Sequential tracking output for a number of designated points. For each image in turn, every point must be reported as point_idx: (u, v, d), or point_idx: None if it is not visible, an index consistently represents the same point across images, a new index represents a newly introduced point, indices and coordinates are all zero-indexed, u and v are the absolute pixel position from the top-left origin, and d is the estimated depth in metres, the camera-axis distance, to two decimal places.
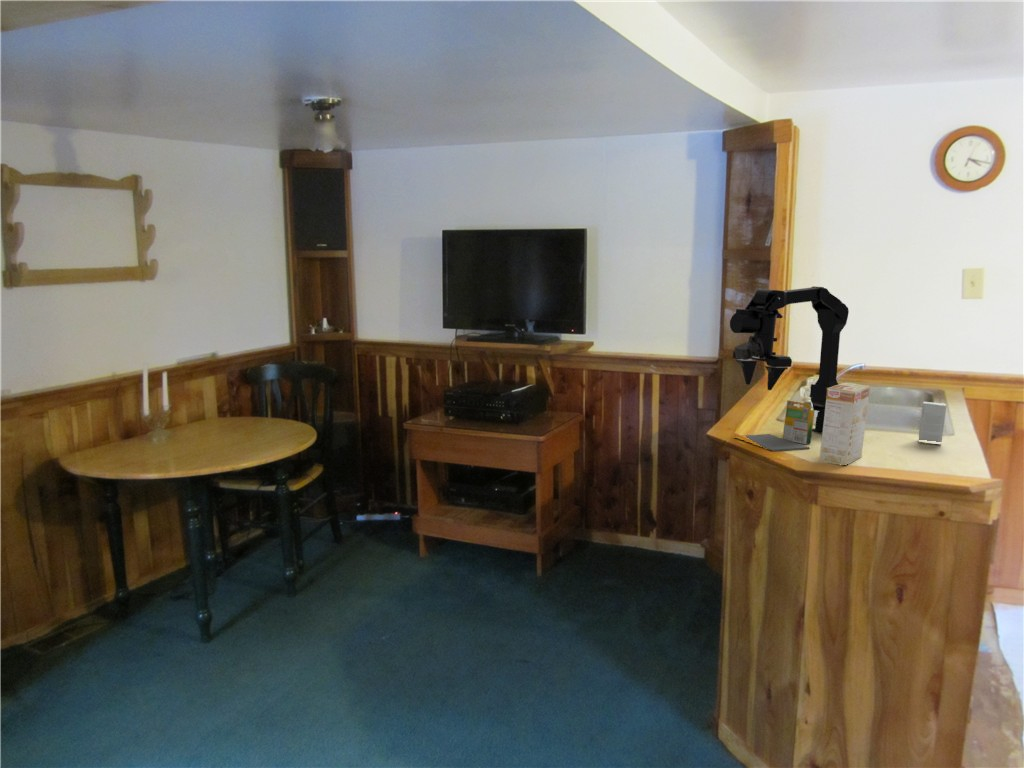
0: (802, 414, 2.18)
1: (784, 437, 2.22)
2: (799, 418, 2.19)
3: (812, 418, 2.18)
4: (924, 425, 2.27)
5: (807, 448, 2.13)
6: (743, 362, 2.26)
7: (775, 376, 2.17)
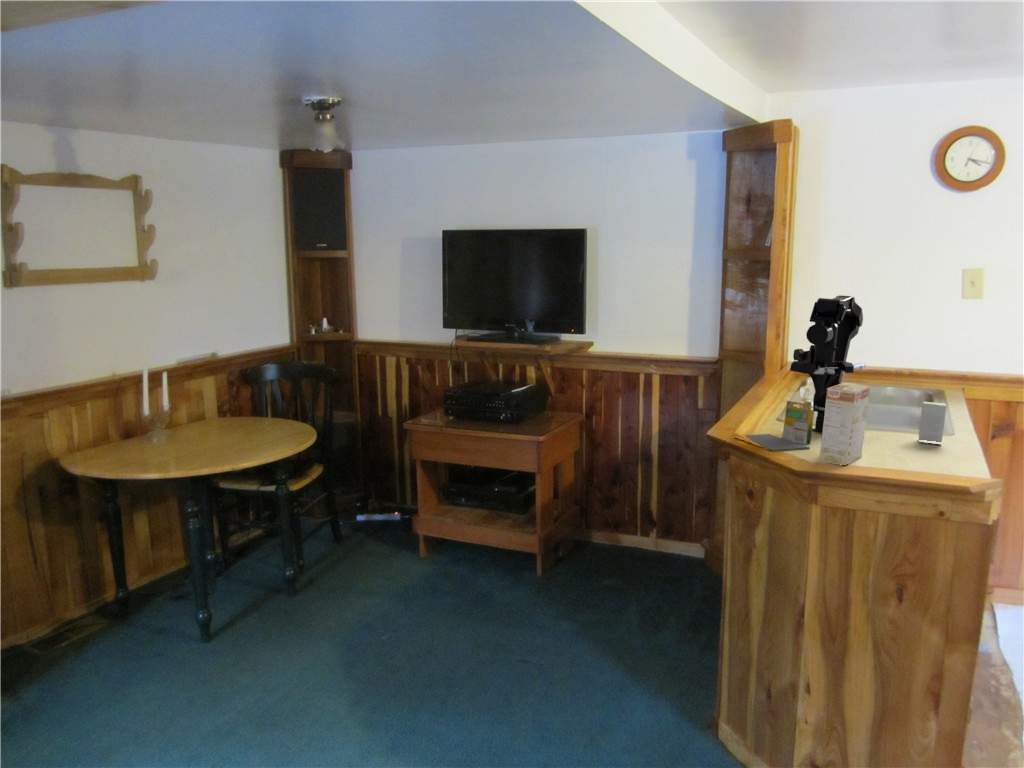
0: (802, 414, 2.18)
1: (784, 437, 2.22)
2: (799, 419, 2.19)
3: (812, 418, 2.18)
4: (924, 425, 2.27)
5: (807, 448, 2.13)
6: None
7: (818, 383, 2.20)
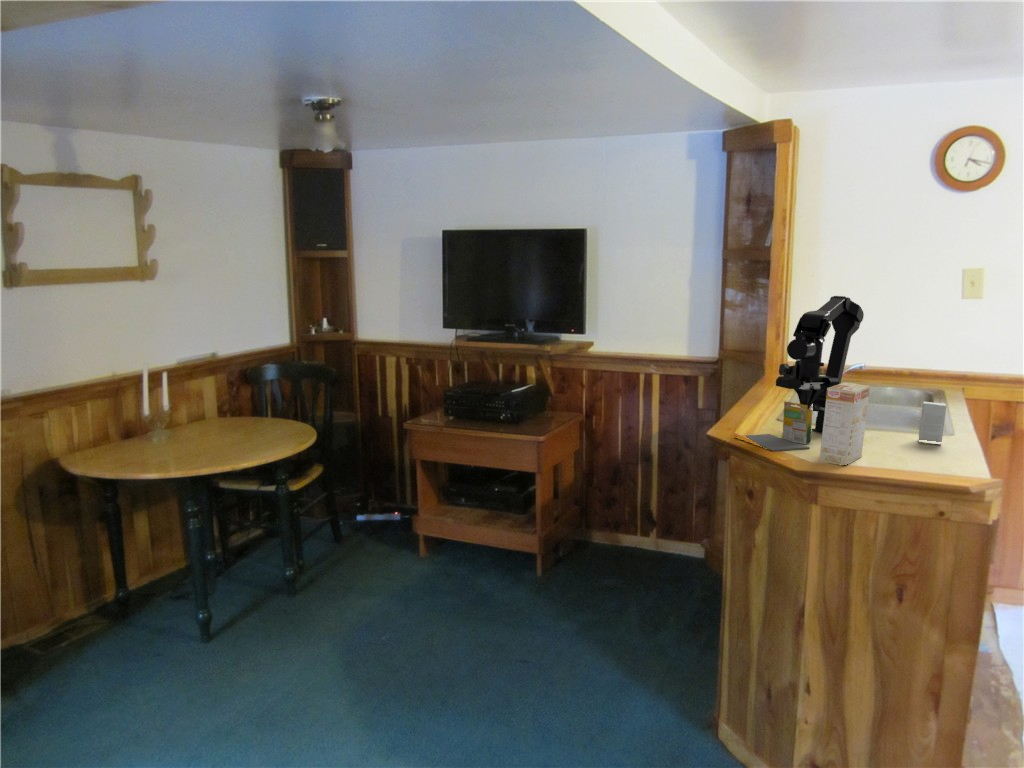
0: (800, 415, 2.17)
1: (784, 437, 2.22)
2: (798, 419, 2.18)
3: (810, 418, 2.17)
4: (924, 425, 2.27)
5: (807, 448, 2.13)
6: None
7: (803, 398, 2.19)
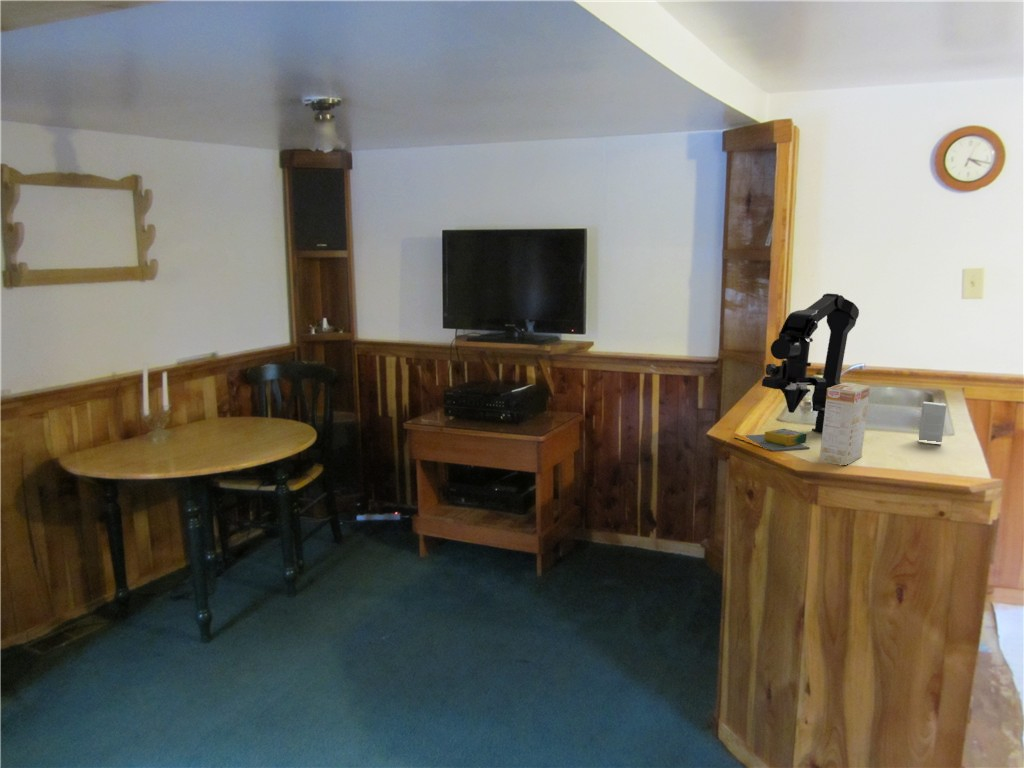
0: None
1: None
2: None
3: (792, 439, 2.13)
4: (924, 425, 2.27)
5: (807, 448, 2.13)
6: None
7: (790, 398, 2.17)
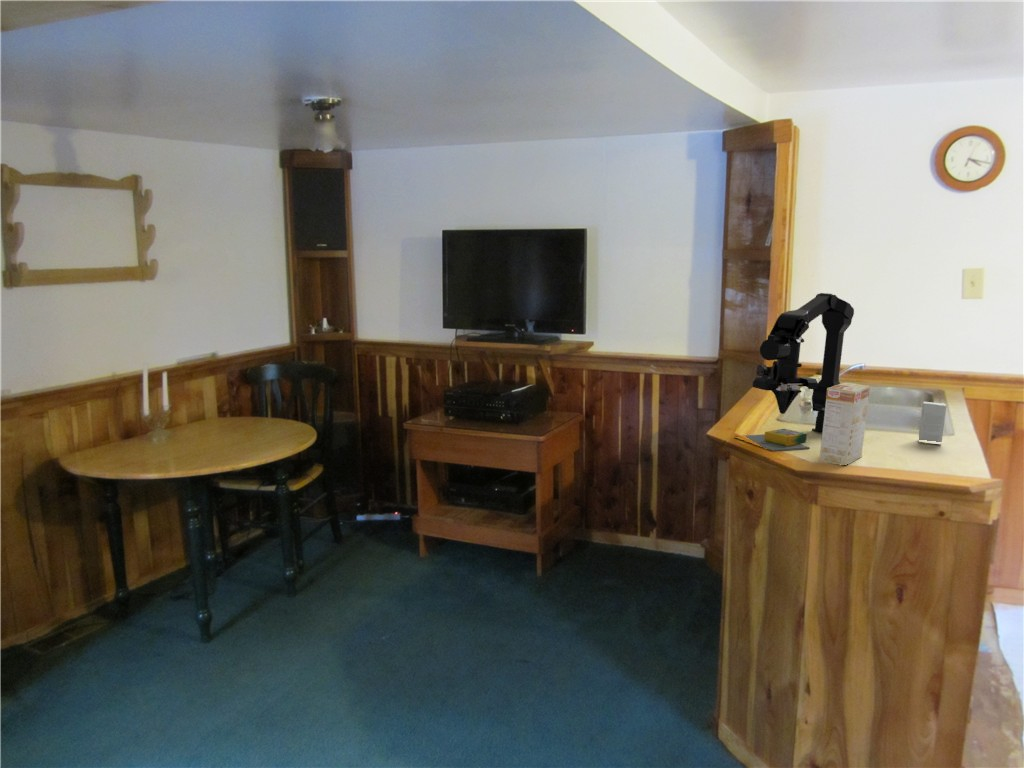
0: None
1: None
2: None
3: (792, 439, 2.13)
4: (924, 425, 2.27)
5: (807, 448, 2.13)
6: None
7: (781, 399, 2.16)
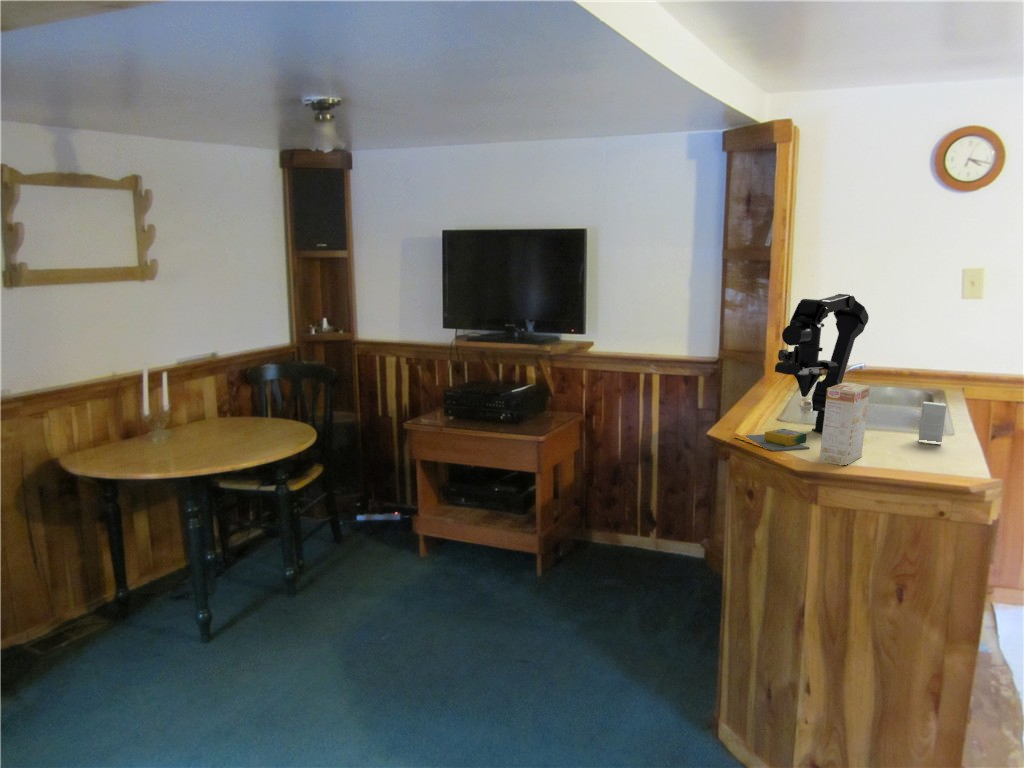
0: None
1: None
2: None
3: (792, 439, 2.13)
4: (924, 425, 2.27)
5: (807, 448, 2.13)
6: None
7: (802, 383, 2.22)
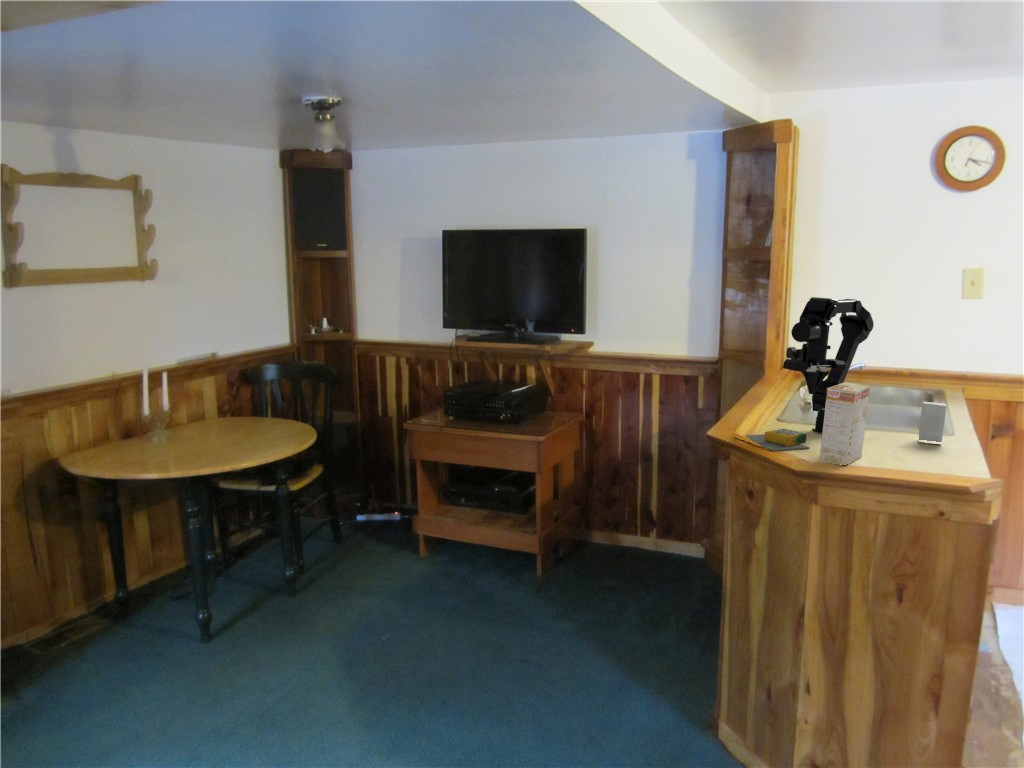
0: None
1: None
2: None
3: (792, 439, 2.13)
4: (924, 425, 2.27)
5: (807, 448, 2.13)
6: None
7: (810, 380, 2.24)
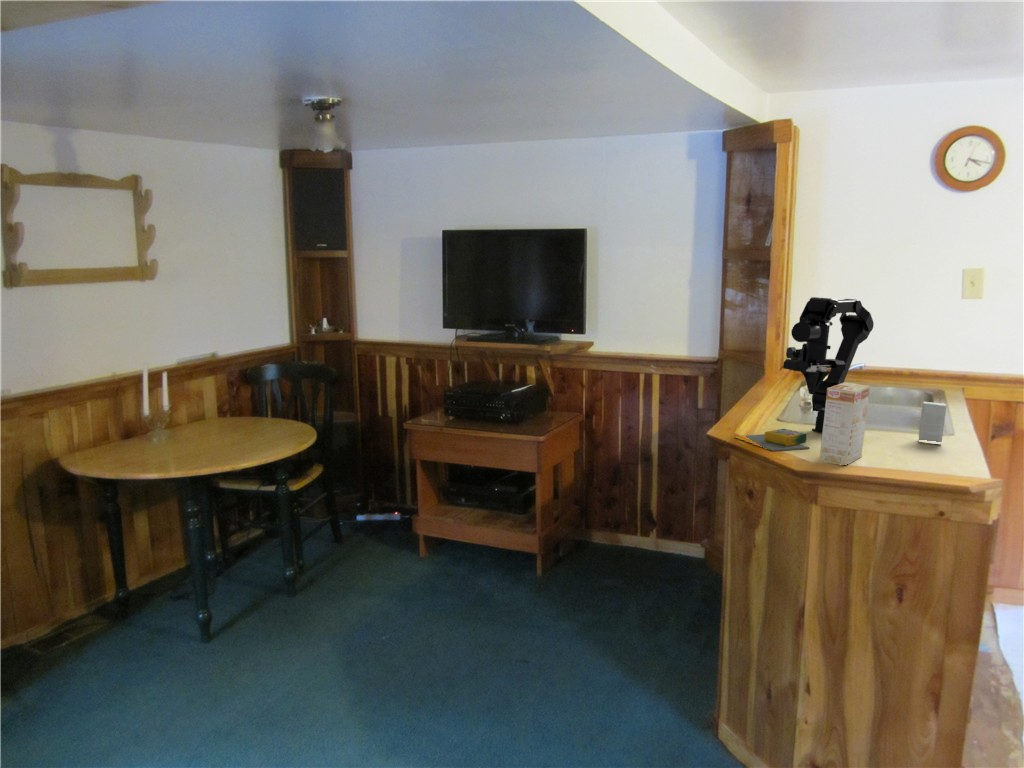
0: None
1: None
2: None
3: (792, 439, 2.13)
4: (924, 425, 2.27)
5: (807, 448, 2.13)
6: None
7: (810, 380, 2.24)
